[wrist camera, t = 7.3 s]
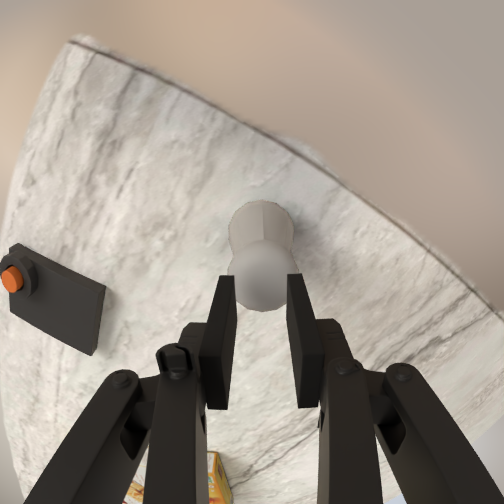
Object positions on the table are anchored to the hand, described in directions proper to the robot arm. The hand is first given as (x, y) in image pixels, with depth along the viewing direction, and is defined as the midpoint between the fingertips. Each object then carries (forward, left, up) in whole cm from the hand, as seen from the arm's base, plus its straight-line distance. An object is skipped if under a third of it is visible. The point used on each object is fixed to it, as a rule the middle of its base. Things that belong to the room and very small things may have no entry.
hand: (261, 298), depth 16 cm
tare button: (+4, -29, -11) cm, 31 cm away
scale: (+8, -26, -15) cm, 31 cm away
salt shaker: (0, 0, -15) cm, 15 cm away
